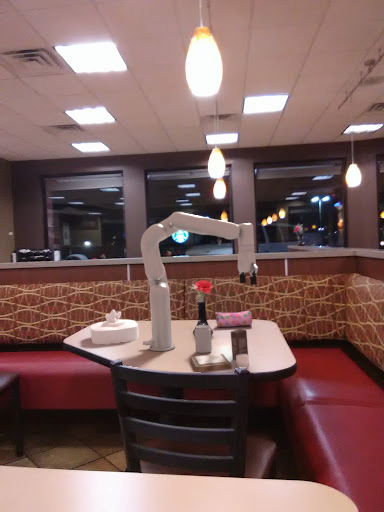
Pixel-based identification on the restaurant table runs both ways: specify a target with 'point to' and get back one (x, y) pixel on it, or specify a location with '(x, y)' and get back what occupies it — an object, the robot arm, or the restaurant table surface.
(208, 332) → the can
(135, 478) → the restaurant table surface
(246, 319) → the pencil case
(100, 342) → the tissue box
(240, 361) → the white small block
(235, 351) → the box
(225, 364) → the stand
